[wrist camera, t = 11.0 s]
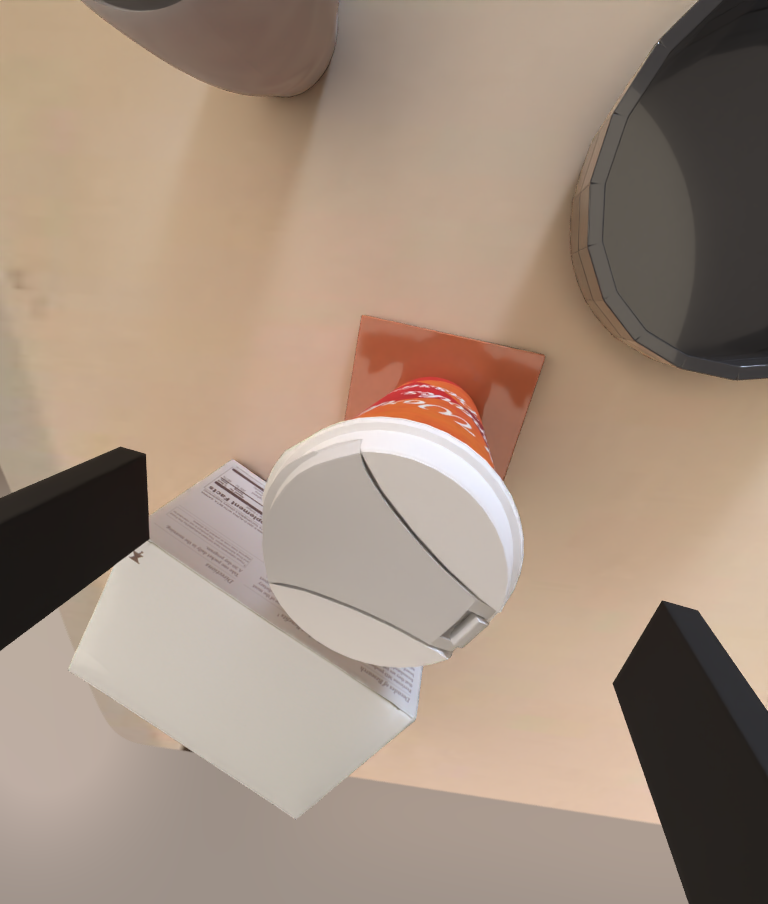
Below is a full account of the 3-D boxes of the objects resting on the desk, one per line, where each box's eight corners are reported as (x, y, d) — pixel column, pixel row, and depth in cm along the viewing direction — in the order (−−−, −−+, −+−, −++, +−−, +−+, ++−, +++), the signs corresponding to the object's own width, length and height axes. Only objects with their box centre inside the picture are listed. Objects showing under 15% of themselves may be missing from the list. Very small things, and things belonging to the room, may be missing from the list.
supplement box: (169, 575, 33) (60, 672, 24) (234, 454, 28) (126, 524, 19) (340, 693, 34) (293, 829, 25) (436, 597, 28) (419, 726, 20)
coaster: (363, 314, 23) (361, 315, 22) (544, 354, 22) (546, 355, 21) (337, 473, 27) (335, 476, 26) (490, 515, 25) (490, 519, 25)
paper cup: (528, 411, 22) (602, 561, 9) (444, 508, 25) (411, 722, 12) (412, 326, 22) (323, 361, 9) (340, 434, 25) (198, 575, 12)
